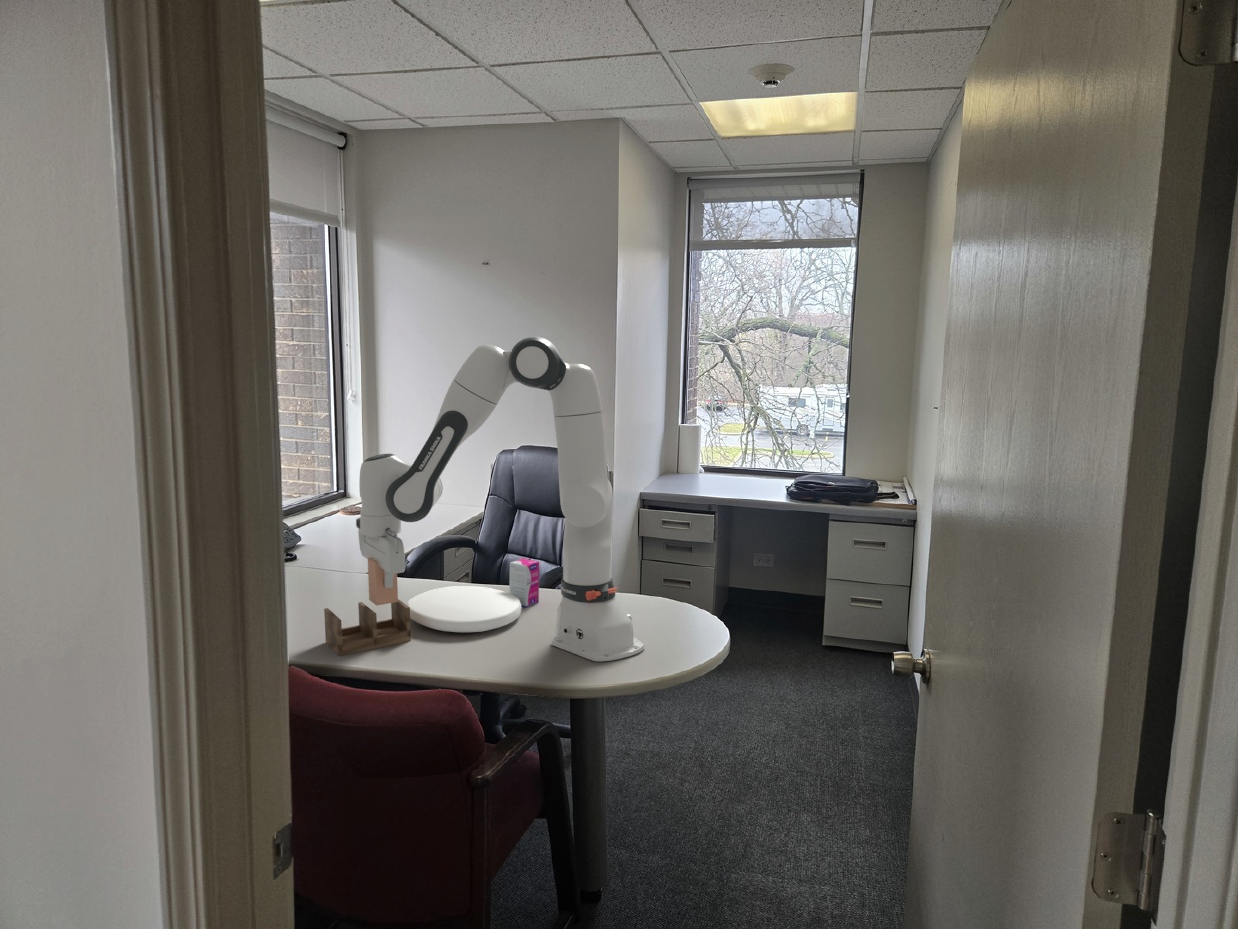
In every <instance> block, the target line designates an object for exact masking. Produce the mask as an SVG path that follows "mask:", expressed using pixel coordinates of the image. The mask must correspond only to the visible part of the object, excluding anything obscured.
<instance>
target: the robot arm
mask: <svg viewBox="0 0 1238 929" xmlns="http://www.w3.org/2000/svg"><path fill="white" fill-rule="evenodd" d="M453 378H454V379H453V380H452V382H451V383H450V385H449V387H448V389H447V392H446V394H445V396H444V399H443V402H442V403H441V406H440V409H439V412H438V415H437V417H436V421H435V423H434V426H433V428H432V431H431V432H430V434H429V436H428V438H427V440H426V441H425V443H424V445H423V446H422V448H421V450H420V452H419V453H418V454H417V456H416V458H415V460H414V461H413V463H409V462H407V461H405V460H403V459H401V458H400V457H399V456H397V455H396V454H393V453H382V454H377V455H373V456H370V457H368V458H366V459H365V460H364V461H363V462H362V463H361V465H360V469H359V485H358V486H359V497H360V500H361V508H360V511H359V512H360V517H356V519H355V527H356V528H357V529H358V533H357V534H358V544H359V545H358V546H359V550H360V553H361V556H362V557H364V558H365V559H367V560H368V558H372V559H374V560H375V561H377V562H378V565H379V567H380V568H382V569H383V570H384V574H385V577H384V579H383V585H384V587H386V588H390V587H393V578H394V575H395V574H397V575H398V574H401V573H404V572H405V570H406V556H405V555H406V554H405V547H404V542H403V540H402V538H400V537H398V534H400V533H401V532H402V522H405V523H416V522H419V521H421V520H424V519H425V518H426V517H427V516H428V515H429V513H430V512H431V510H432V508H433V507H434V506H435V505H436V503H438V501H439V500H440V498H441V496H442V494H443V483H442V479H441V478H440V477H441V476H442V474H443V472H444V470H445V469H446V467H447V465H448V463H449V462H450V460H451V459H452V456H453V455H454V453H455V452H456V451H457V449H458V448H459V447H460V446H461V445H462V444H463V443H464V442H465V441H466V440H467V439H468V438H469V437H470V436H472V435H474V433H476V432H477V431H478V430H479V429H480V428H481V427H482V426H483V425H484V423H485V422H486V421H487V420H488V419H489V418H490V416H491V415H492V413H493V412H494V410H495V408H496V407H497V406H498V403H499V402H500V400H501V399H502V397H503V395H504V394H505V392H506V390H508V388H509V387H510V386H511V385H512V384H514V383H520V384H521V385H523V386H526V387H528V388H533V389H539V390H545V391H548V392H549V394H550V397H551V400H552V402H551V403H552V408H553V409H552V410H553V419H554V420H553V421H554V428H555V437H556V444H557V445H556V447H557V466H558V467H557V468H558V470H557V471H558V486H559V487H558V488H559V489H558V490H559V500H560V503H559V504H560V508H561V511H562V515H563V516H564V533H563V543H562V544H563V546H562V550H563V552H562V555H563V556H562V568H563V569H562V575H563V576H562V578H561V581H560V589H561V590H560V594H561V596H562V599H561V601H560V603H559V605H558V608H557V612H556V613H557V614H556V624H555V635H554V637H552V639H551V642H550V645H551V646H553V647H557V648H559V649H561V650H564V651H567V652H569V653H572V654H575V655H577V656H580V657H582V658H585V659H588V660H589V661H591V662H592V661H593V662H609V661H616V660H620V659H624V658H629V657H631V656H634V655H637V654H639V653H641V652H642V651H643V650H644V649H645V645H644V643H643V642H641V641H640V640H639V639H638V638H636V637H635V636H634V626H633V619H632V616H631V614H630V613H626V611H625V610H624V608H623V607H622V605H621V604H620V603H619V601H618V600H617V598H616V593H618V591H617V589H618V587H617V586H616V587H615V585H614V582H613V579H612V577H611V576H612V575H611V574H612V573H611V569H612V563H611V562H612V560H611V558H612V524H613V521H612V520H613V487H612V483H611V481H610V480H609V474H608V473H609V472H608V457H607V440H606V432H605V422H604V412H603V402H602V397H601V392H600V388H599V383H598V381H597V377H596V374H595V371H594V370H593V369H592V368H591V367H590V366H587V365H585V364H583V363H568V362H565V361H564V359H563V358H562V357H561V355H560V353H559V350H558V349H557V347H556V346H555V344H554V343H552V341H550V340H548V339H546V338H545V337H541V336H529V337H526V338H523V339H522V340H519V341H518V342H516V344H515V345H514V346H513V347H512V349H510V350H505V349H504V348H501V347H499V346H497V345H495V344H489V343H487V344H481V345H479V346H477V347H476V348H475V349H474V350H473V351H472V352H471V354H470V355H469V356H468V357H467V359H465V361H464V363H463V364H462V365H461V367H460V368H459V369H458V371H457V373H456V375H455V376H454V377H453Z"/></svg>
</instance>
